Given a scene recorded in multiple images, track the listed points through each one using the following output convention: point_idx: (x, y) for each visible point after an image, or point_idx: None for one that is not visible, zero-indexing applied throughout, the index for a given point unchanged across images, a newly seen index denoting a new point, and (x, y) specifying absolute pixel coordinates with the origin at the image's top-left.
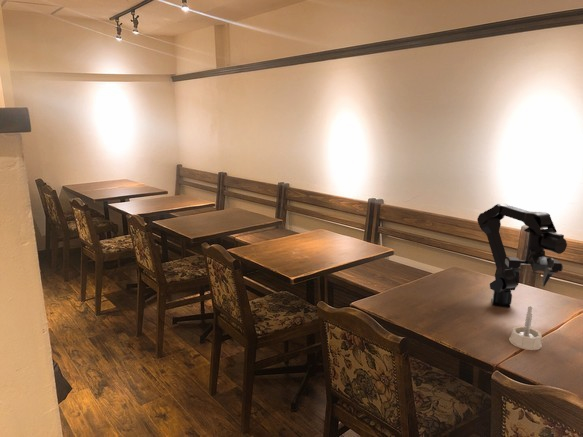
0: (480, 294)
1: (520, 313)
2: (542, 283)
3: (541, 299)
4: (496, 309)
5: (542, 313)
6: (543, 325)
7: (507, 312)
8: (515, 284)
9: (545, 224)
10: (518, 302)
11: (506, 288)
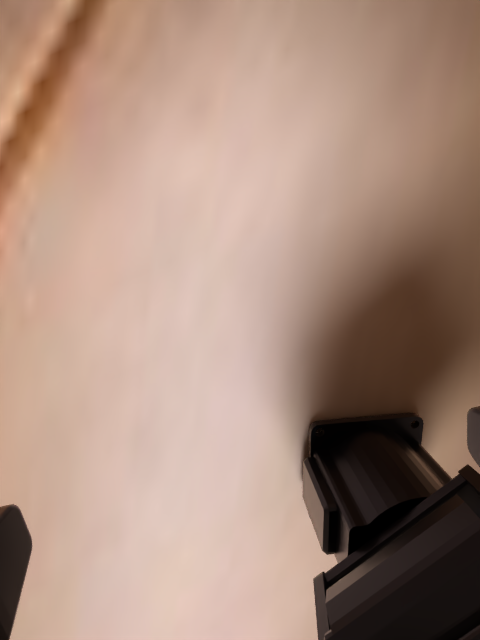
0: None
1: (248, 352)
2: (17, 581)
3: (89, 633)
4: (404, 356)
5: (94, 415)
6: (98, 186)
7: (337, 333)
8: (363, 591)
9: None
10: (240, 530)
11: (434, 510)
